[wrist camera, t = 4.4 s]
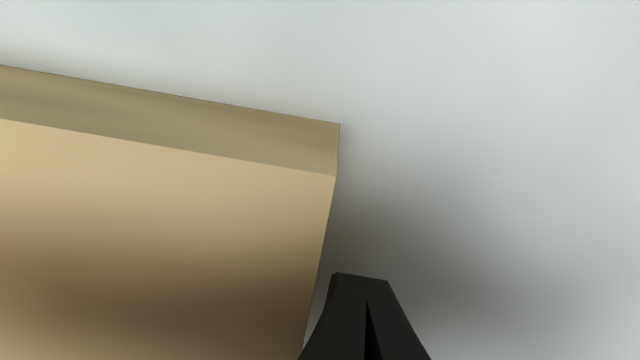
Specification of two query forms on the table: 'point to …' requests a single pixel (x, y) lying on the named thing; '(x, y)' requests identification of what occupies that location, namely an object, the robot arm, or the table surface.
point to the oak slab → (155, 223)
